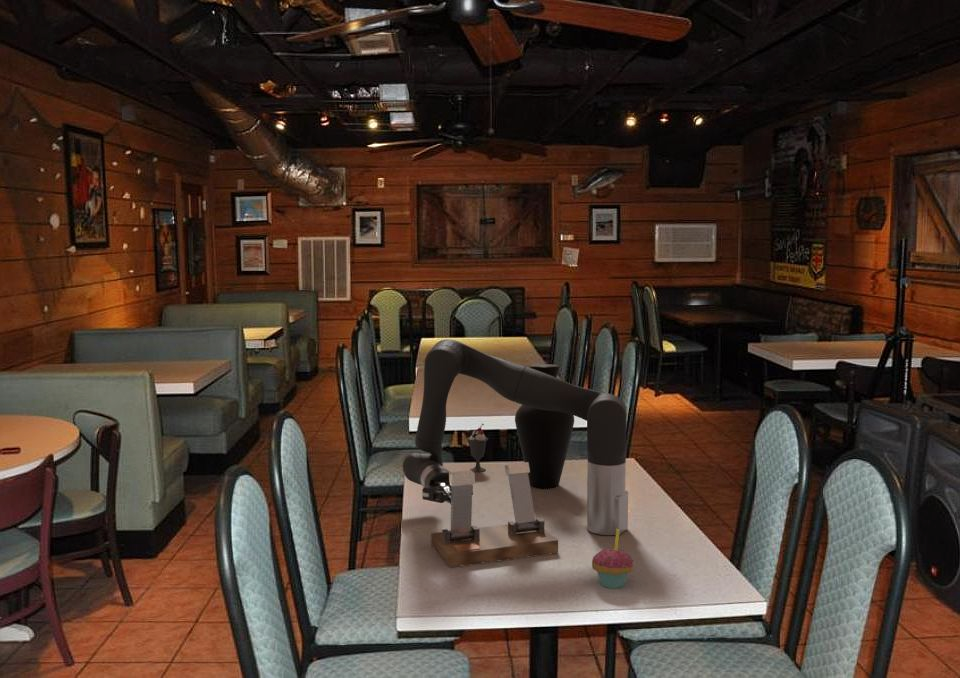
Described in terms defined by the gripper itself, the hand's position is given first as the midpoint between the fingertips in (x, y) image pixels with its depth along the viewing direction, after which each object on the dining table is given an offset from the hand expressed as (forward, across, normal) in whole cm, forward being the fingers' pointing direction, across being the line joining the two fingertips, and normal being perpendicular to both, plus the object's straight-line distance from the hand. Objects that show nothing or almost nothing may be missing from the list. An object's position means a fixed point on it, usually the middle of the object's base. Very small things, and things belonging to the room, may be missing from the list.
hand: (457, 502), depth 188 cm
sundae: (-66, -25, -11) cm, 71 cm away
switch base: (0, -9, -12) cm, 15 cm away
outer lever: (0, -1, -9) cm, 9 cm away
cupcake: (+26, -26, -12) cm, 39 cm away
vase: (-44, -39, -11) cm, 60 cm away
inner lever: (0, -17, -8) cm, 19 cm away
